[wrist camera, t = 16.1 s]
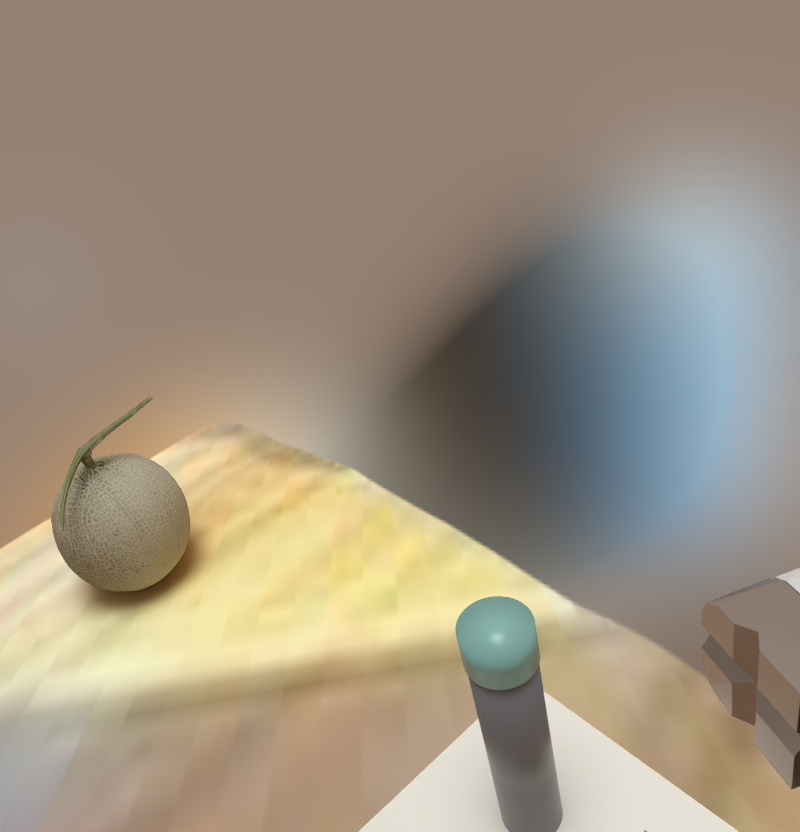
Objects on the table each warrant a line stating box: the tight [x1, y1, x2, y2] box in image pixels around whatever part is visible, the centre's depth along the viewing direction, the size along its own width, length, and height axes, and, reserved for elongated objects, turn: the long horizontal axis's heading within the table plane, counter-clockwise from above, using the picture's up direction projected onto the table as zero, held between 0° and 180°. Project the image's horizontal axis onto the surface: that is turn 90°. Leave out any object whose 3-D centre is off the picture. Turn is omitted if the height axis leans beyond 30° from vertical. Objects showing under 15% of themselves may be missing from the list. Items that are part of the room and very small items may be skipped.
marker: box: [456, 596, 563, 832], centre depth 34 cm, size 3×3×14 cm
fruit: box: [51, 396, 190, 592], centre depth 59 cm, size 10×12×15 cm
